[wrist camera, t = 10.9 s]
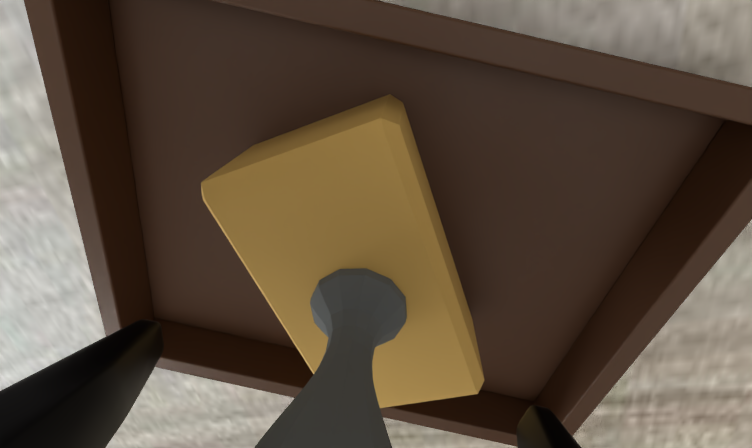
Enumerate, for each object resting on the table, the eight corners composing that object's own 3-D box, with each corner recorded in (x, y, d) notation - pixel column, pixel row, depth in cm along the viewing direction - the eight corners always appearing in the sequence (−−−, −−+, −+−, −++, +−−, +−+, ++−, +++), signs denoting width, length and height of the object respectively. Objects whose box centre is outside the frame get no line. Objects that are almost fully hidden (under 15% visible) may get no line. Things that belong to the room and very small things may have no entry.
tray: (754, 92, 11) (845, 108, 9) (539, 403, 18) (556, 455, 16) (89, -62, 11) (0, -88, 8) (148, 317, 18) (110, 357, 16)
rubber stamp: (473, 319, 15) (600, 945, 5) (350, 343, 17) (242, 867, 6) (399, 90, 11) (167, 994, 1) (245, 148, 13) (-603, 729, 2)
